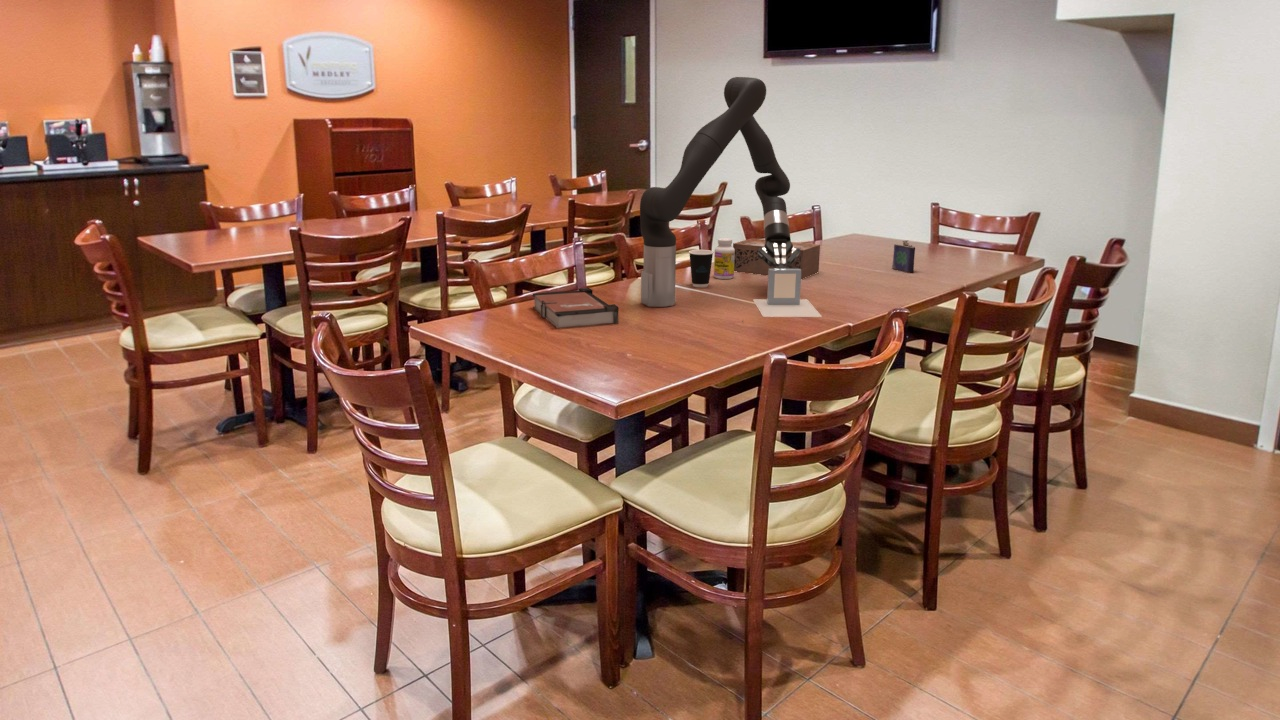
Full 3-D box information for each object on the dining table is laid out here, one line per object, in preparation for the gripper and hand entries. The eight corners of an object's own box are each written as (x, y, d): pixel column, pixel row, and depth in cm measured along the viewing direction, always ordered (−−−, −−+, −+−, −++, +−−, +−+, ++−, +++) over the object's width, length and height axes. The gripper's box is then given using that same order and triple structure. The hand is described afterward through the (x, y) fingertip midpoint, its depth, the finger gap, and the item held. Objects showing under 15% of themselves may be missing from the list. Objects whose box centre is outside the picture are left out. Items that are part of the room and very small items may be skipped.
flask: (890, 269, 313) (893, 238, 310) (896, 268, 314) (899, 238, 311) (909, 273, 305) (912, 242, 302) (915, 272, 307) (918, 241, 304)
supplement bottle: (710, 278, 296) (711, 239, 292) (718, 275, 302) (719, 237, 298) (729, 280, 293) (730, 241, 289) (736, 276, 299) (738, 238, 295)
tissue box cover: (732, 272, 308) (733, 243, 305) (750, 266, 320) (751, 238, 317) (801, 280, 295) (803, 250, 292) (818, 273, 306) (820, 244, 303)
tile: (766, 302, 258) (768, 268, 255) (798, 302, 258) (799, 268, 255) (768, 304, 255) (769, 270, 253) (799, 304, 255) (801, 270, 253)
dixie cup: (701, 282, 289) (701, 248, 286) (718, 286, 284) (719, 251, 280) (682, 285, 285) (683, 251, 282) (699, 289, 279) (700, 254, 276)
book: (530, 309, 254) (530, 292, 253) (589, 304, 260) (589, 287, 258) (554, 330, 230) (554, 311, 229) (618, 325, 236) (618, 306, 235)
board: (752, 301, 262) (752, 299, 262) (806, 301, 263) (807, 299, 262) (763, 318, 241) (763, 316, 241) (822, 318, 241) (822, 316, 241)
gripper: (756, 221, 265) (760, 269, 257) (800, 221, 265) (806, 269, 257) (753, 236, 272) (757, 284, 264) (796, 236, 272) (802, 283, 264)
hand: (781, 276), depth 260 cm, fingers closed
